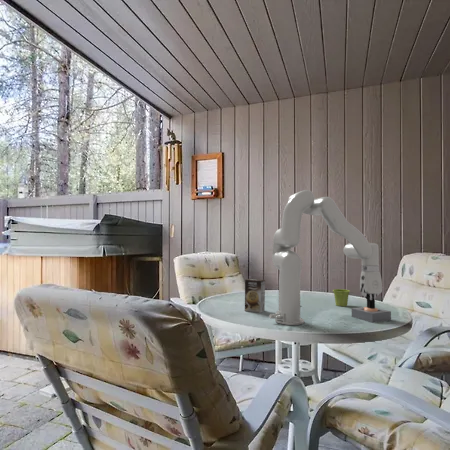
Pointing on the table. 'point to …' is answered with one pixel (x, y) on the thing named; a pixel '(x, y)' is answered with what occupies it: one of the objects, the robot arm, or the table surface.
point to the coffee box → (255, 295)
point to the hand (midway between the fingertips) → (370, 308)
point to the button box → (371, 315)
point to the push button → (370, 309)
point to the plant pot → (341, 297)
